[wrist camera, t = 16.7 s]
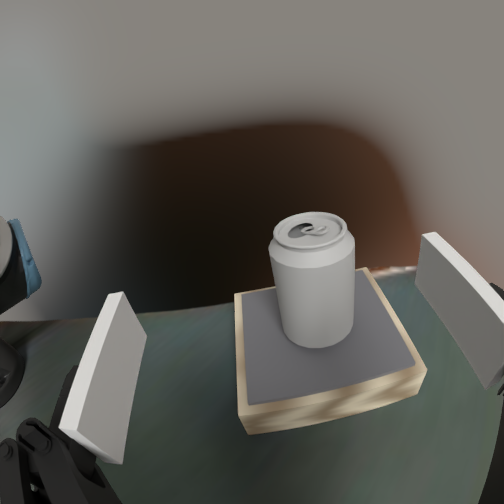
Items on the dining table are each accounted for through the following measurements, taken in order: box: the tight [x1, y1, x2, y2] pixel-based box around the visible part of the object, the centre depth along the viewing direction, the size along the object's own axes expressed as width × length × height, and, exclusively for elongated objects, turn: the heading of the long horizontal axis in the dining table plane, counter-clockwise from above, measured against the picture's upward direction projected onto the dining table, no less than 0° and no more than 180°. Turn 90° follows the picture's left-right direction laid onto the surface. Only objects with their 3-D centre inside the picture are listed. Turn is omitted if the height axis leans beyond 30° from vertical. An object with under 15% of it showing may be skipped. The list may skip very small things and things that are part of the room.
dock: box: [235, 267, 427, 435], centre depth 32 cm, size 18×18×5 cm
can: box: [269, 212, 355, 348], centre depth 28 cm, size 8×8×12 cm
